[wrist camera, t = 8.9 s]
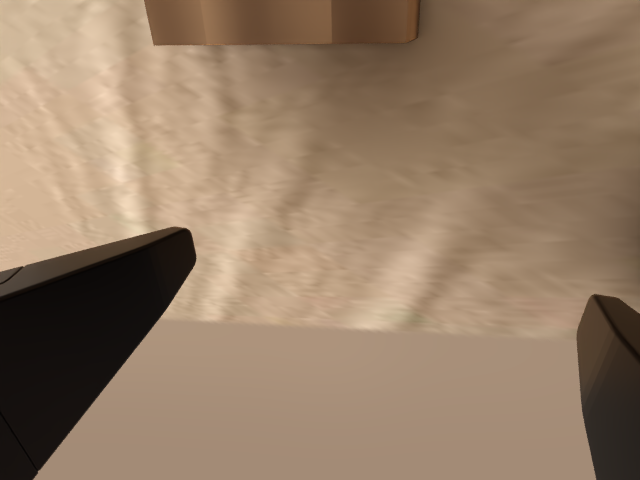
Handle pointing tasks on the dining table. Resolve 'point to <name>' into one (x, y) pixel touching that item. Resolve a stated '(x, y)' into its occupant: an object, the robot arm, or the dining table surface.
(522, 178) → the dining table surface
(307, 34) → the socket block
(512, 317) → the dining table surface
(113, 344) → the robot arm
